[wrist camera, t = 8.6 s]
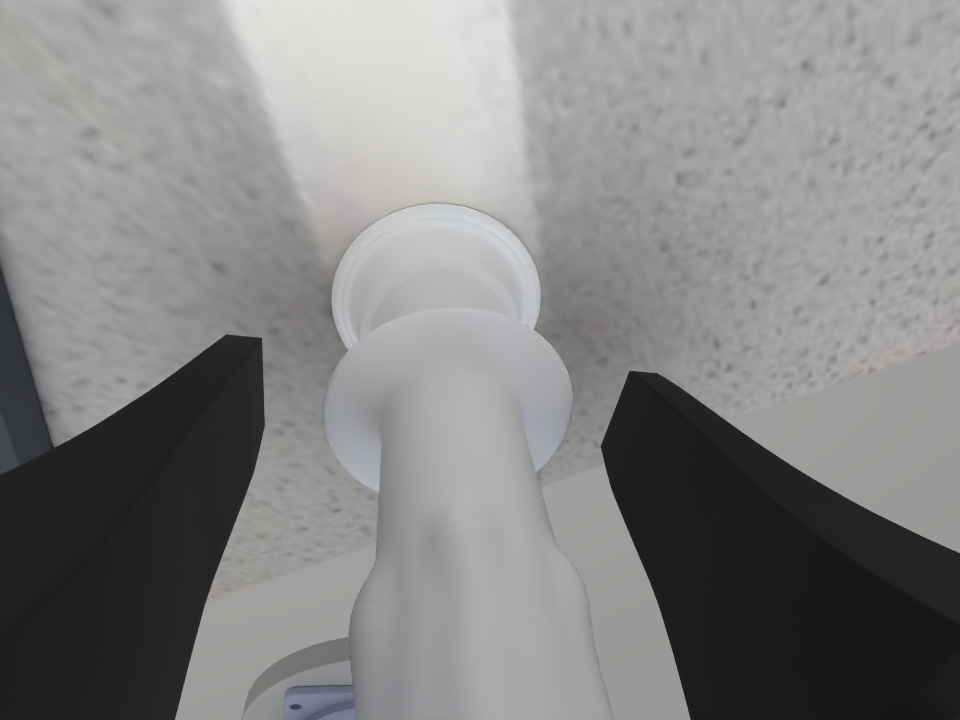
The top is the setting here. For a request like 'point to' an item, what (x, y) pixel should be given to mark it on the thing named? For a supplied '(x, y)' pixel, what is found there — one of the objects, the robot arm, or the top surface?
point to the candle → (456, 477)
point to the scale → (17, 398)
